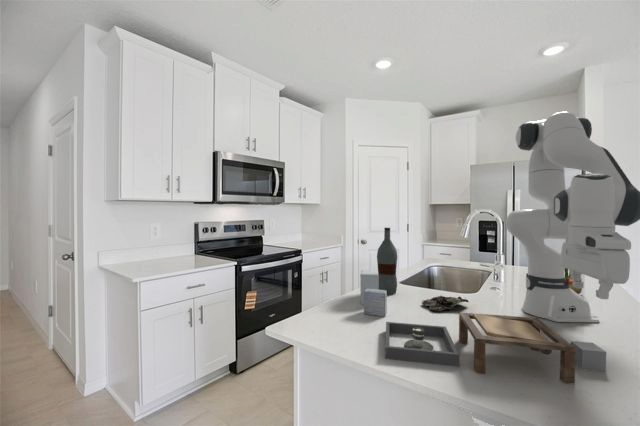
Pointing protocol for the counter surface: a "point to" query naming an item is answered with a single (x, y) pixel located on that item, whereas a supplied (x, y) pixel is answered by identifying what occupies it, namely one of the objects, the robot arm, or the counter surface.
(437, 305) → the decorative rock
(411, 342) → the grey knobbed disc
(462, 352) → the counter surface
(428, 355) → the cup mat rim
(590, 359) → the stone block
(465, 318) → the trapdoor frame
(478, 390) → the counter surface
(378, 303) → the medicine box
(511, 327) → the trapdoor
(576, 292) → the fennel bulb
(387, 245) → the bottle
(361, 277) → the supplement box
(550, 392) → the counter surface
